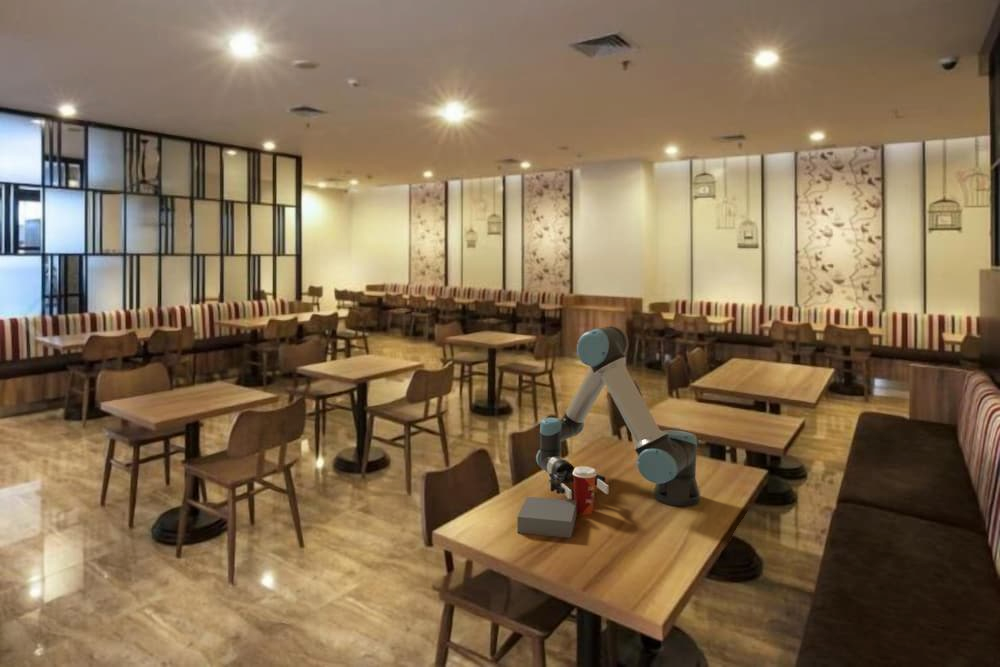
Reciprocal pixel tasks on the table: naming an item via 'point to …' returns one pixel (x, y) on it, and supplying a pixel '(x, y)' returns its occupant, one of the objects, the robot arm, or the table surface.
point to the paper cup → (584, 489)
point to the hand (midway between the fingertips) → (589, 492)
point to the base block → (547, 517)
